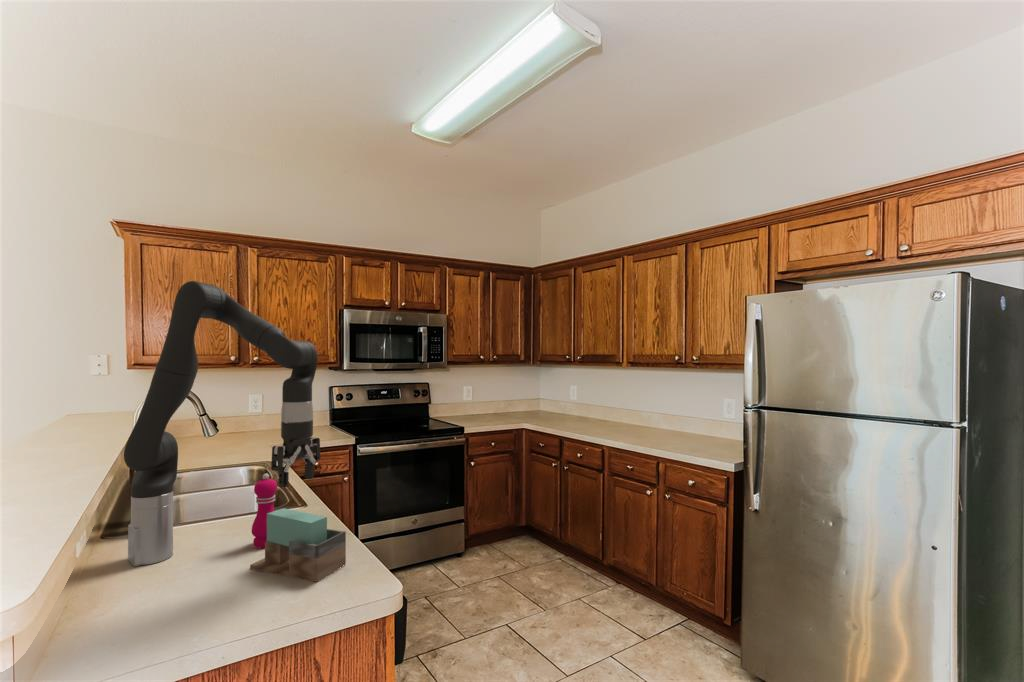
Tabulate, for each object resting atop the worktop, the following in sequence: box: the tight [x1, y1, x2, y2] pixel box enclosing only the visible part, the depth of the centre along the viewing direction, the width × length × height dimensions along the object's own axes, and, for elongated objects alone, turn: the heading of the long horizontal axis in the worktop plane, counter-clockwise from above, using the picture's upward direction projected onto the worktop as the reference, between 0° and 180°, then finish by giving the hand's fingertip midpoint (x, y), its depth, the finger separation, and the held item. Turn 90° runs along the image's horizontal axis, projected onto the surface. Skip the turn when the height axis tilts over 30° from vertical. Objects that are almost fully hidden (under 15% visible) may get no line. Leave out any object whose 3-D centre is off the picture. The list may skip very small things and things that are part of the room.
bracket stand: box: [249, 528, 347, 583], centre depth 129 cm, size 21×10×8 cm, turn 69°
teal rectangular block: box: [267, 507, 328, 546], centre depth 130 cm, size 16×5×7 cm, turn 63°
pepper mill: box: [251, 472, 278, 549], centre depth 145 cm, size 7×7×20 cm
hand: (296, 482), depth 130 cm, fingers open, 8 cm apart
